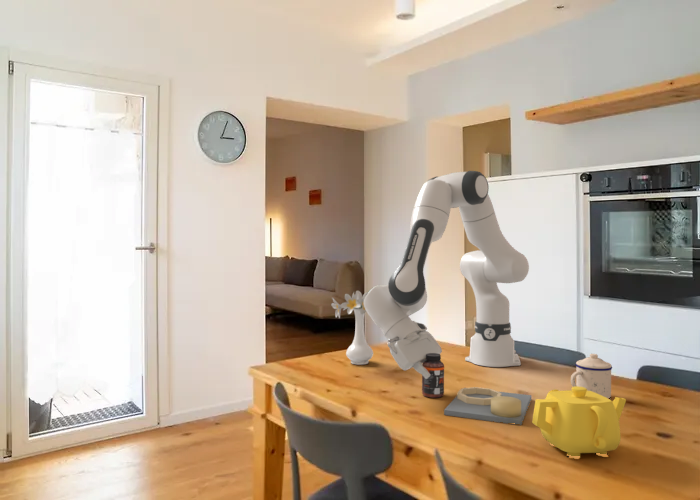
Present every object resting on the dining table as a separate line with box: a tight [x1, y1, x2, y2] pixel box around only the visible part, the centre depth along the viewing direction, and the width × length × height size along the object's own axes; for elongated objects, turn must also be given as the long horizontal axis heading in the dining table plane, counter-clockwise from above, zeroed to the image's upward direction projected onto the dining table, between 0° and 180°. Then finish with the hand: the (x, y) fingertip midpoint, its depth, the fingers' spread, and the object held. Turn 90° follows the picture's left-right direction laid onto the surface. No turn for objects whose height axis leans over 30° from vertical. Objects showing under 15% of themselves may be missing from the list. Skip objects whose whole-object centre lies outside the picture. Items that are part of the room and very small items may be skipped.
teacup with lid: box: [570, 353, 613, 399], centre depth 147 cm, size 12×9×12 cm
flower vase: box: [330, 290, 374, 366], centre depth 187 cm, size 13×18×25 cm
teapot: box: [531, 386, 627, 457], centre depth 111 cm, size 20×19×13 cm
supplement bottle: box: [421, 353, 445, 399], centre depth 148 cm, size 6×6×11 cm
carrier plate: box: [443, 386, 532, 426], centre depth 138 cm, size 22×18×4 cm
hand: (435, 374), depth 148 cm, fingers closed on supplement bottle, 6 cm apart
